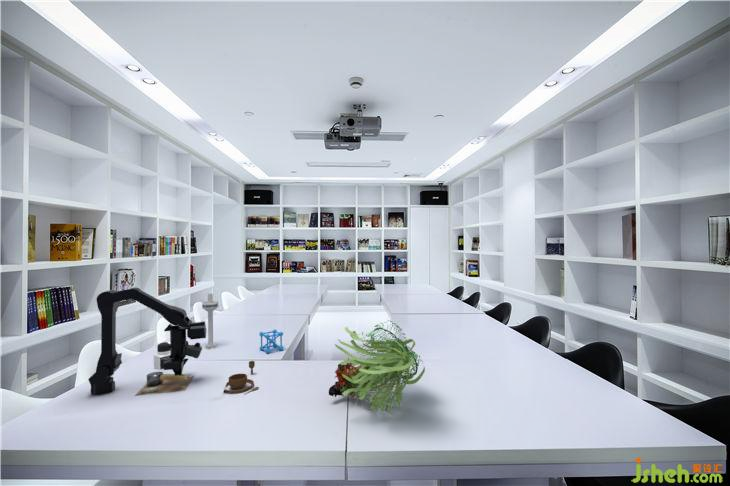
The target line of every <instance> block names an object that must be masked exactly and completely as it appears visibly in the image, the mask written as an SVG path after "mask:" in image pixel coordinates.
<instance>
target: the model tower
mask: <svg viewBox="0 0 730 486" xmlns="http://www.w3.org/2000/svg"><path fill="white" fill-rule="evenodd" d="M213 297H214V295H213V293H207V301H202V303H201V305H202V307H201V309H203V310H205V311H206V312H207V336H208V337H207V338H208V340H207V341H208V343H207V344H205V348H206V349H207V350H211V349H216V348H217V344H216V343H214V311H216V310H217V309H218V308H219V301H217V300H213Z"/></svg>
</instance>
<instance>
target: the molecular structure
mask: <svg viewBox="0 0 730 486" xmlns="http://www.w3.org/2000/svg"><path fill="white" fill-rule="evenodd" d="M258 335H259V336H260V346H259V350H260V351H264V352H265V354H270V352H274V351H283V350H284V346H283V341H282V340H283V339H282V338H283V335H284V332H283V331H280V332H279V331H277V329H273V330H272V331H266V332H263V331H260V332H259V334H258ZM263 337H264V338H265V339H266V344H263ZM278 337H280V345H278V344H277V343H276V341H277V340H276V339H277V338H278ZM272 347H273V349H270V348H272Z"/></svg>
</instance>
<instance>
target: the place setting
mask: <svg viewBox="0 0 730 486" xmlns="http://www.w3.org/2000/svg"><path fill="white" fill-rule="evenodd" d="M255 364H256V363H255V360H250V361H248V367H249V369H250V375H252V376H253V375H254V368H255V366H256V365H255ZM254 383H255V382H254V380H252V379H249V378H248V374H246V373H235V374H232V375H230V376H229V377H228V381H227V382H226V384H225V387H224V389H223V392H224V393H226V394H239V393H244V396H245V395H247V394H249V393H250V392H255V391H257V390H258V389H259V387H260V386H255V387H254ZM247 384H250V385H249V386H248V387H245V388H244V386H246V385H247ZM228 386H229V387H230V388H232V389H231V390H228V389H225V388H227V387H228ZM249 390H250V391H249ZM247 391H248V392H247ZM245 392H246V393H245Z"/></svg>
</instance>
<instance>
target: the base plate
mask: <svg viewBox="0 0 730 486" xmlns="http://www.w3.org/2000/svg"><path fill="white" fill-rule="evenodd" d="M194 378H195V375H194V376H187V379H186V380H163V383H161V384H159V385H155V386H147V383H146V384H145V385H144V386H143V387H142V388H140V390H138V392H136V393H135V394H134V397H137V396H139V397H140V396H146V395H156V394H157V395H158V394H165V393H172V392H173V393H175V392H185V391H186V390H187V388H188V387H189V385H190V384H191V382H192V381H193V379H194Z"/></svg>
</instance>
